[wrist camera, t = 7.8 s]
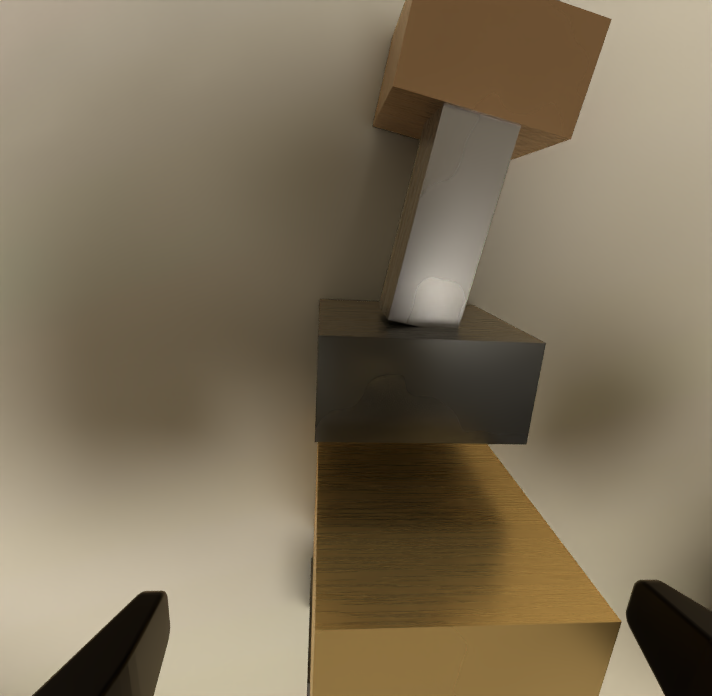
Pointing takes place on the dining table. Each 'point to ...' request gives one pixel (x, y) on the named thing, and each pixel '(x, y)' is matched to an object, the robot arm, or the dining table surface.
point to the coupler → (445, 581)
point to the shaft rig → (453, 226)
